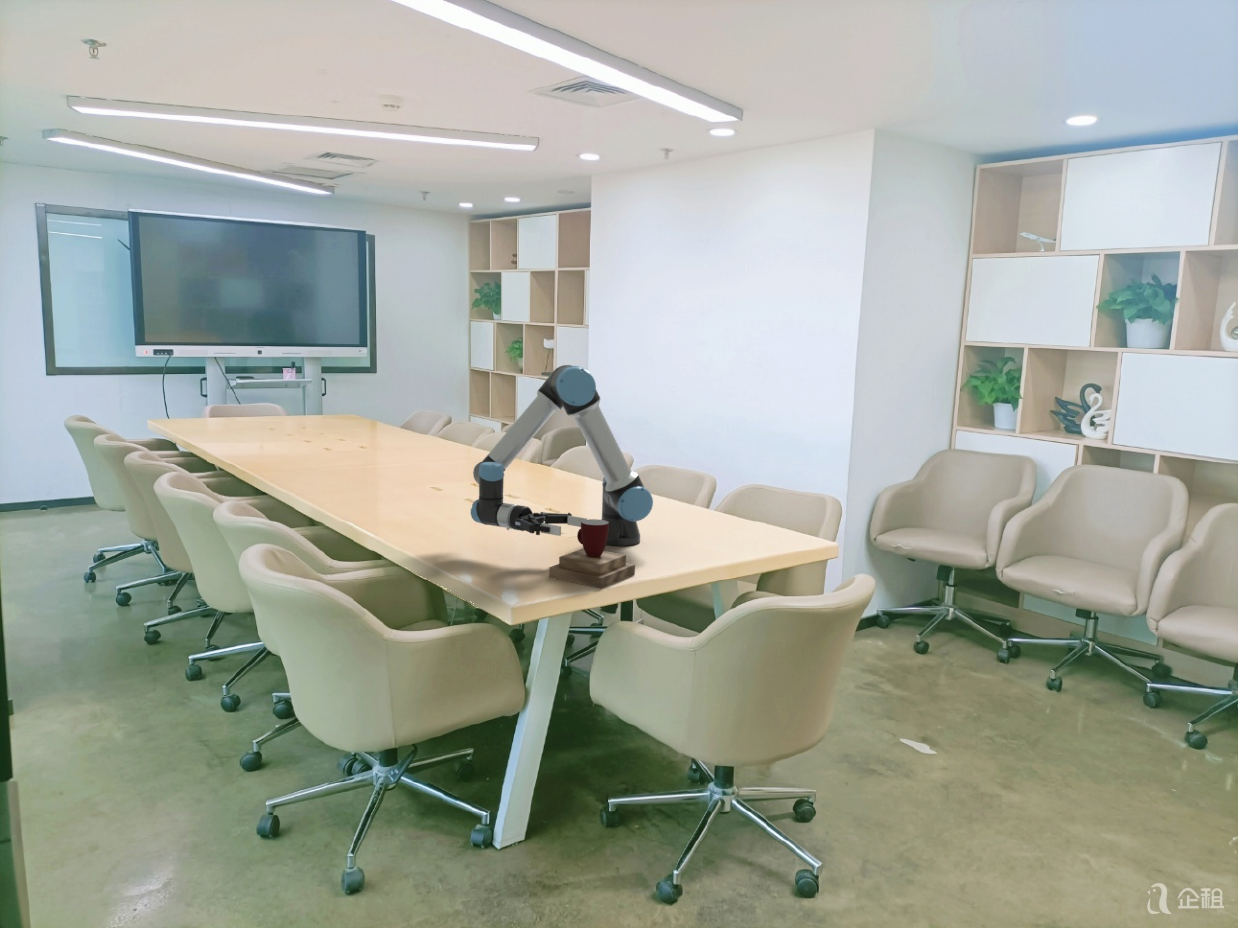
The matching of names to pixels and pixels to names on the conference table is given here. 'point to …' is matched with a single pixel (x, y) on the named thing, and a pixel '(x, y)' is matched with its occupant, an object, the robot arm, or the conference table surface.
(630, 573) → the stand
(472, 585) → the conference table surface
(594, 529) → the mug
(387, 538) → the conference table surface
